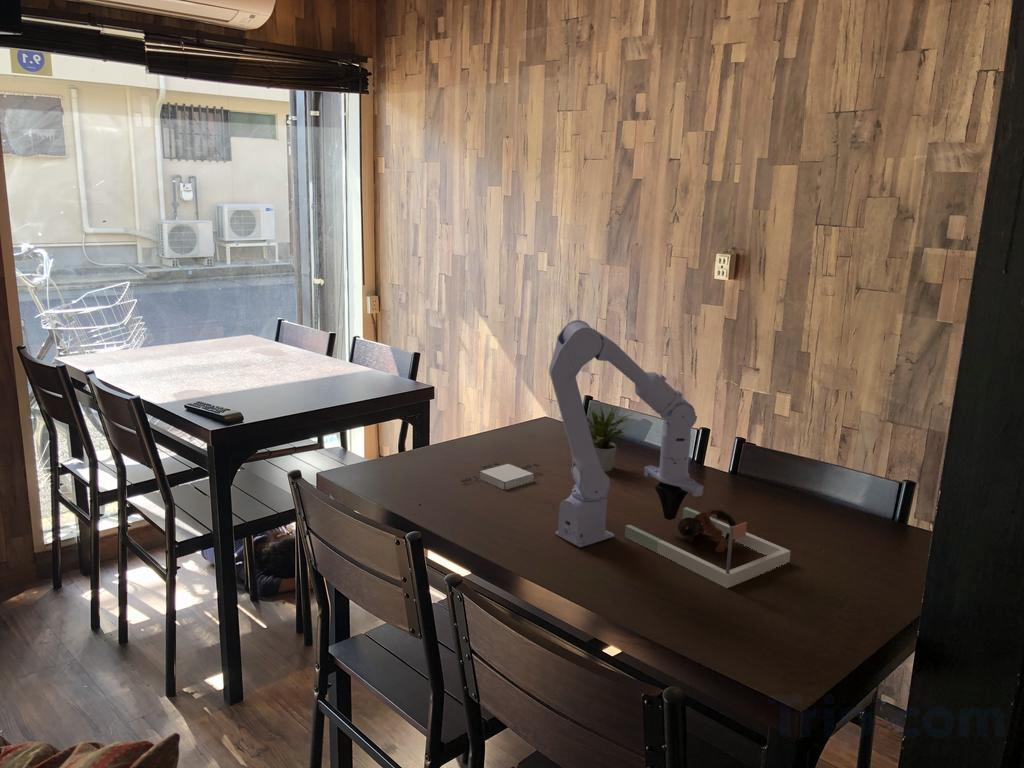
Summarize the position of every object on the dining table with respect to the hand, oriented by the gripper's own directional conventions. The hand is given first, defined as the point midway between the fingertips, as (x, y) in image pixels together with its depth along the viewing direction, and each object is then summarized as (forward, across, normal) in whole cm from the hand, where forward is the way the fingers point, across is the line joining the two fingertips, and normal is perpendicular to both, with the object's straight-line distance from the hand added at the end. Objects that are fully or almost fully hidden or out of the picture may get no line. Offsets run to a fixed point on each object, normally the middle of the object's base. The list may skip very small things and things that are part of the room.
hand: (669, 518), depth 166 cm
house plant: (+4, +37, -15) cm, 40 cm away
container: (+4, +45, +11) cm, 46 cm away
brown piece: (+4, -8, -2) cm, 9 cm away
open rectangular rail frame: (+3, -9, 0) cm, 10 cm away
